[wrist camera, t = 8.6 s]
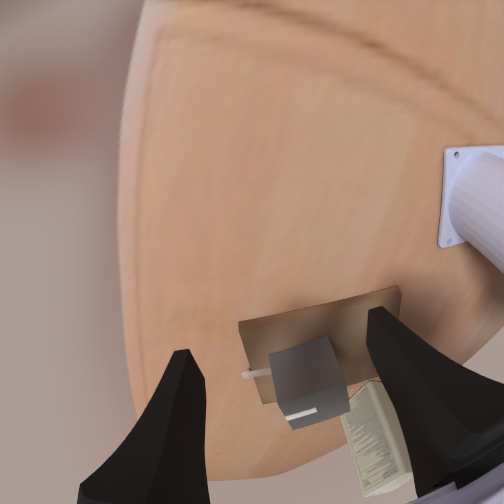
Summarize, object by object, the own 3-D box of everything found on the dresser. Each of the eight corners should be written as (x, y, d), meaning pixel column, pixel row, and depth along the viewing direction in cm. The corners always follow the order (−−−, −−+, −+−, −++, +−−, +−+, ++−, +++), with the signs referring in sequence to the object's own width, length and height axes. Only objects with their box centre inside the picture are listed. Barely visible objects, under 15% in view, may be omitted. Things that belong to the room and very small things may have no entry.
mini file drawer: (327, 335, 24) (346, 383, 19) (335, 369, 26) (351, 412, 22) (268, 355, 24) (278, 405, 20) (283, 386, 26) (293, 430, 22)
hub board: (396, 285, 23) (415, 313, 20) (383, 366, 29) (394, 392, 26) (226, 324, 23) (228, 358, 20) (252, 397, 29) (256, 426, 26)
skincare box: (361, 411, 33) (388, 492, 23) (335, 409, 32) (360, 498, 22) (395, 381, 31) (432, 468, 20) (369, 378, 29) (406, 474, 19)
